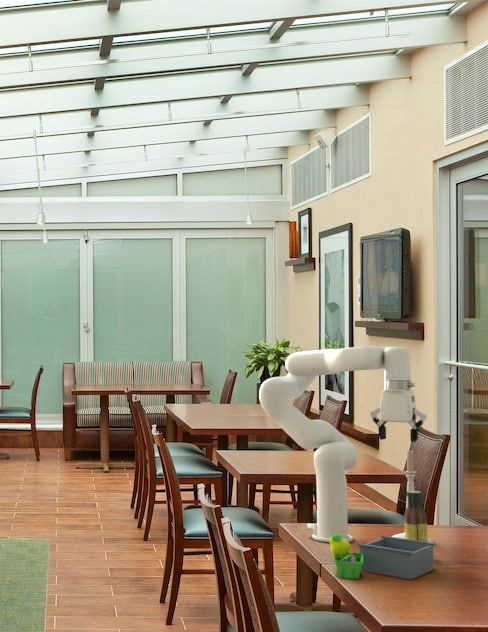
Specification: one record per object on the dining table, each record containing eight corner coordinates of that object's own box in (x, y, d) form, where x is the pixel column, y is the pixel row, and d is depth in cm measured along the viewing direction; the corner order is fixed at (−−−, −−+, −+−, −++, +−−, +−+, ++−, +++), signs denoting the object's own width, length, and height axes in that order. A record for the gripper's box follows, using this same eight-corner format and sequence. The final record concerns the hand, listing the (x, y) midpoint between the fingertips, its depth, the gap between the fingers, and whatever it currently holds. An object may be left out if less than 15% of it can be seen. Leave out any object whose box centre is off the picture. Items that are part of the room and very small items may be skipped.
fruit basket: (363, 580, 263) (363, 539, 263) (329, 578, 266) (329, 537, 267) (362, 571, 274) (362, 531, 274) (330, 568, 277) (329, 529, 277)
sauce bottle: (427, 555, 292) (426, 490, 293) (429, 560, 286) (428, 493, 287) (404, 554, 295) (403, 489, 295) (405, 558, 289) (404, 492, 289)
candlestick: (437, 547, 304) (436, 452, 304) (394, 545, 306) (393, 451, 307) (427, 538, 316) (426, 447, 317) (386, 537, 319) (385, 446, 319)
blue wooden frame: (358, 570, 275) (357, 543, 275) (382, 560, 286) (382, 535, 286) (411, 580, 264) (411, 552, 264) (435, 569, 275) (434, 543, 275)
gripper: (430, 386, 298) (431, 441, 297) (375, 384, 310) (376, 437, 310) (420, 387, 292) (421, 443, 292) (365, 385, 305) (365, 439, 304)
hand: (398, 440), depth 301 cm, fingers open, 9 cm apart
